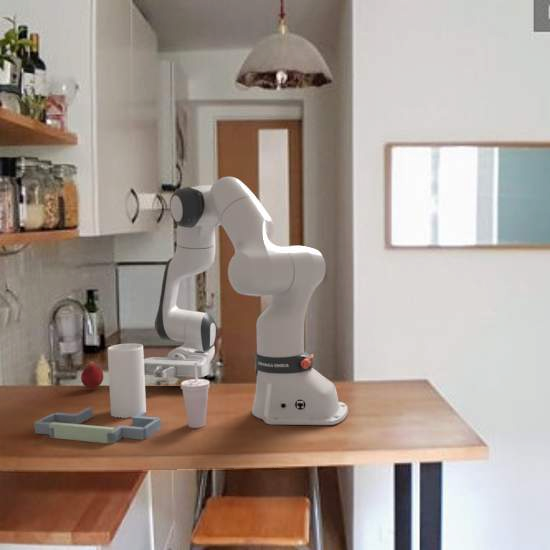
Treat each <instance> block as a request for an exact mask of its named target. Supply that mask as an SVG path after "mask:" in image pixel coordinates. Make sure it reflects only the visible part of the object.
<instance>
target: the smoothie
mask: <svg viewBox="0 0 550 550" xmlns="http://www.w3.org/2000/svg"><path fill="white" fill-rule="evenodd" d="M194 365H195V378H192V379H186V380H184V381H182V382H181V383H180V389H181V390H182V396H183V401H184V405H185V406H184V407H185V411H186V412H185V414H186V419H187V424H188V425H187V426H188V427H189V428H192V429H199V428H202V427H205V426H206V422H207V421H206V418H207V408H208V398H209V396H208V395H209V388H210V387H211V386H210V385H211V384H210V380H208V379H205V378H197V362H195V363H194Z"/></svg>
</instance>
